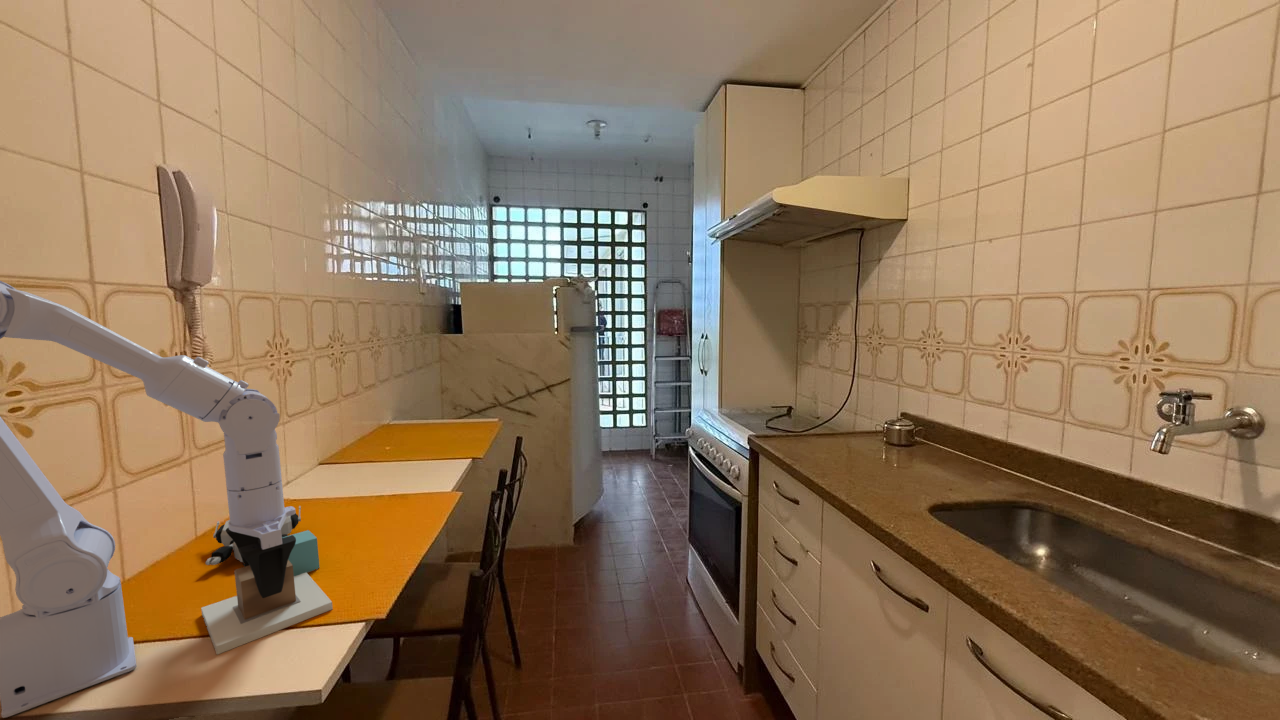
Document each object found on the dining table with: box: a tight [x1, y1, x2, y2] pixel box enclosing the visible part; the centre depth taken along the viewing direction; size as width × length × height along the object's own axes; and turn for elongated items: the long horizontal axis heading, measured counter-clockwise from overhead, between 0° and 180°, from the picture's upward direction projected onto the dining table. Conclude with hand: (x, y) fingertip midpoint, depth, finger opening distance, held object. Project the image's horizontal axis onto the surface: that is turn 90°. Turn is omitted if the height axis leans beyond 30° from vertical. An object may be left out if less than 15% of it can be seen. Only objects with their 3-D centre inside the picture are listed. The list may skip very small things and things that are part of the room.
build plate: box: [200, 572, 333, 655], centre depth 68 cm, size 12×12×1 cm
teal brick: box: [282, 529, 320, 576], centre depth 79 cm, size 6×4×5 cm
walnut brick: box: [233, 560, 296, 619], centre depth 67 cm, size 6×4×5 cm
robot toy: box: [205, 505, 302, 566], centre depth 87 cm, size 12×4×15 cm
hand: (264, 583), depth 67 cm, fingers open, 7 cm apart
